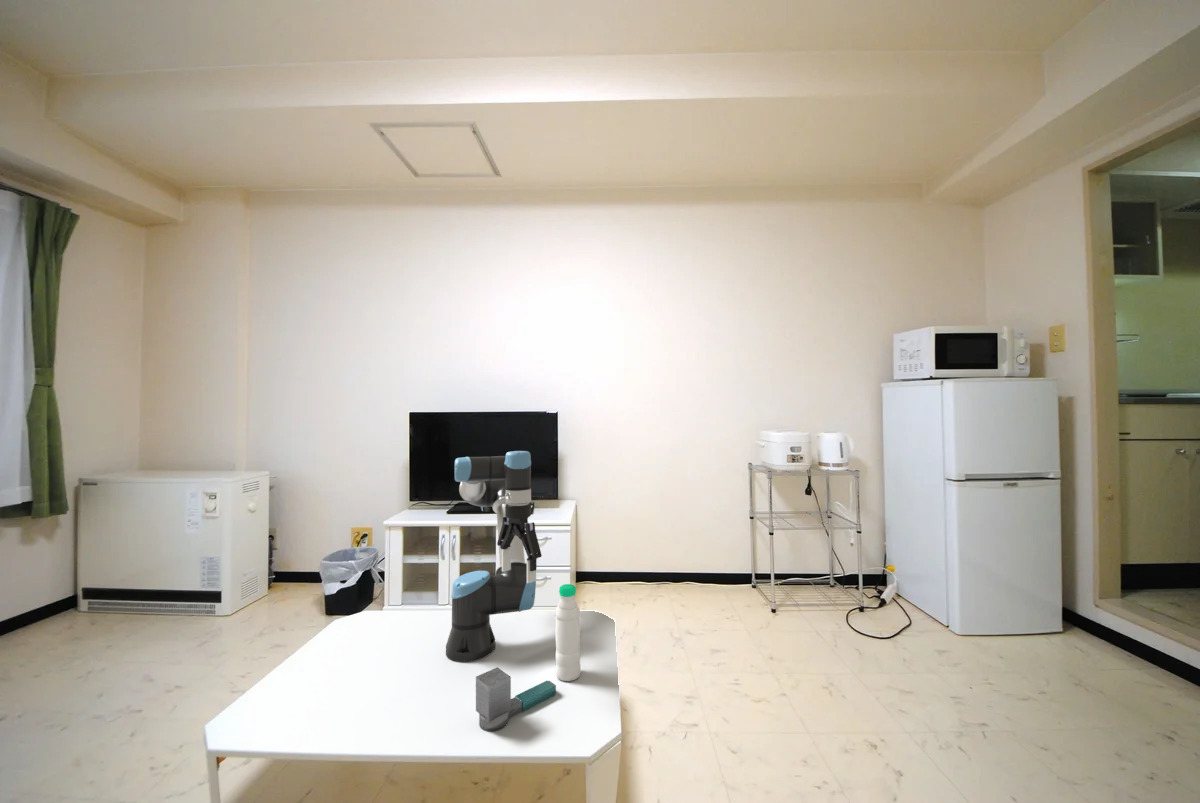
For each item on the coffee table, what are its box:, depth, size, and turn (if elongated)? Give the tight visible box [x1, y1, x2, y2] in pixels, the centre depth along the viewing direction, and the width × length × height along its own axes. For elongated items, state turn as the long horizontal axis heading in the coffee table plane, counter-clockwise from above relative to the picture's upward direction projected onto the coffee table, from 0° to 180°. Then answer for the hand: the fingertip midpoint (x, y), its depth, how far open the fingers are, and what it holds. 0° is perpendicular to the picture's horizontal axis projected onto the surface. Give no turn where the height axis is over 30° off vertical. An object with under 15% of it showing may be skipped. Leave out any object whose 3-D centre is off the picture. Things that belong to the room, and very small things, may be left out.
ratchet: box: [478, 680, 557, 733], centre depth 114 cm, size 21×7×6 cm, turn 133°
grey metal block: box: [475, 667, 512, 722], centre depth 110 cm, size 6×6×8 cm
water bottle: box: [554, 583, 581, 682], centre depth 130 cm, size 7×7×25 cm
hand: (518, 576), depth 134 cm, fingers open, 13 cm apart
